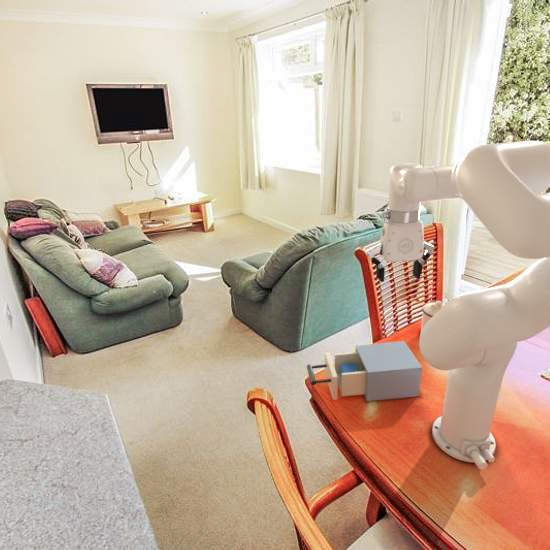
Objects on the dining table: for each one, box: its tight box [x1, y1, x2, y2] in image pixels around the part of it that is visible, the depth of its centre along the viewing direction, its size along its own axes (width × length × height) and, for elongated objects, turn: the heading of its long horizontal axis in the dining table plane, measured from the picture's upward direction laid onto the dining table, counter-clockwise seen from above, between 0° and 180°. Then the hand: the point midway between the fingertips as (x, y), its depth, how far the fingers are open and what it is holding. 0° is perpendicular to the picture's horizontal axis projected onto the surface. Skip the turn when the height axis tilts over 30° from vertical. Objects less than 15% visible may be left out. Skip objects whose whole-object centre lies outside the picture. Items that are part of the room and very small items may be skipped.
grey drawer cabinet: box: [354, 340, 423, 402], centre depth 99 cm, size 14×12×9 cm
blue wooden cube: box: [340, 364, 358, 377], centre depth 99 cm, size 4×4×4 cm
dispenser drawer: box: [306, 351, 367, 401], centre depth 98 cm, size 18×10×7 cm, turn 94°
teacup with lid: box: [420, 300, 446, 332], centre depth 119 cm, size 12×9×12 cm
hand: (398, 278), depth 99 cm, fingers open, 9 cm apart
